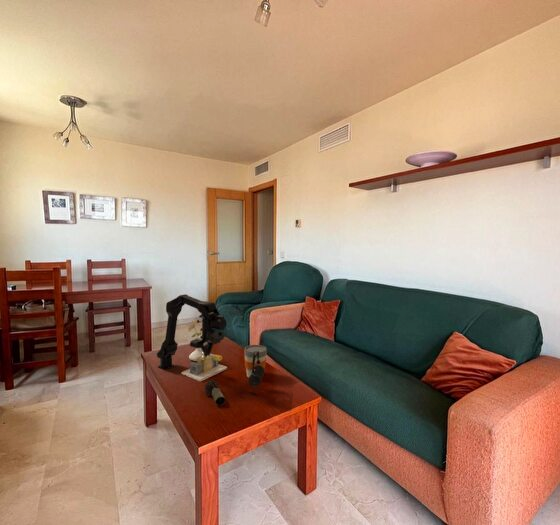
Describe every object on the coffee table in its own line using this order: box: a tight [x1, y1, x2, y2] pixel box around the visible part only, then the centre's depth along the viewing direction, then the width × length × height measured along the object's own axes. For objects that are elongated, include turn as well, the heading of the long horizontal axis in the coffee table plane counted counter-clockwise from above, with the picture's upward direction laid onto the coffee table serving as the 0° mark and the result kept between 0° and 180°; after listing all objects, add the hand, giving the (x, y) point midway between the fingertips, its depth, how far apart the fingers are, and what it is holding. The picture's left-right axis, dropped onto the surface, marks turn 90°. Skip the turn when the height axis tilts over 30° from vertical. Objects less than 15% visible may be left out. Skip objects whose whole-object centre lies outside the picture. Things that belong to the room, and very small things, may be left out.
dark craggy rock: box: [204, 379, 227, 406], centre depth 138 cm, size 18×7×6 cm, turn 26°
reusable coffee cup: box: [243, 344, 268, 378], centre depth 162 cm, size 13×13×15 cm
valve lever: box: [202, 352, 223, 362], centre depth 162 cm, size 14×3×3 cm, turn 57°
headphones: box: [238, 351, 265, 399], centre depth 143 cm, size 15×11×20 cm
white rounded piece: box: [187, 319, 203, 362], centre depth 181 cm, size 13×11×25 cm
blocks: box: [189, 356, 219, 376], centre depth 165 cm, size 6×16×7 cm, turn 147°
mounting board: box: [181, 363, 228, 383], centre depth 165 cm, size 15×20×1 cm
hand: (207, 356), depth 154 cm, fingers closed
